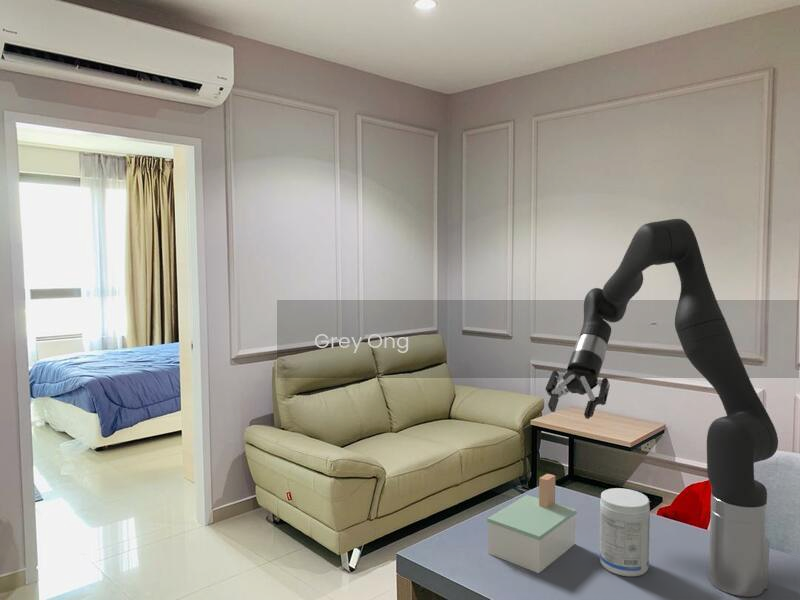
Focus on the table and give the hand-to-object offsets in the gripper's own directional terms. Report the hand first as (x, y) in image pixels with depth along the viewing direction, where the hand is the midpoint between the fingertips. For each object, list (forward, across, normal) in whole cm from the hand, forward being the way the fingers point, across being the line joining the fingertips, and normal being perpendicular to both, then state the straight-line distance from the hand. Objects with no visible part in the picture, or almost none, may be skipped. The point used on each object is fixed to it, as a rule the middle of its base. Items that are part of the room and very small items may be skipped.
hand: (568, 413), depth 140 cm
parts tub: (+31, 0, +5) cm, 31 cm away
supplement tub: (+28, +18, +9) cm, 34 cm away
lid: (+26, -1, +1) cm, 26 cm away
